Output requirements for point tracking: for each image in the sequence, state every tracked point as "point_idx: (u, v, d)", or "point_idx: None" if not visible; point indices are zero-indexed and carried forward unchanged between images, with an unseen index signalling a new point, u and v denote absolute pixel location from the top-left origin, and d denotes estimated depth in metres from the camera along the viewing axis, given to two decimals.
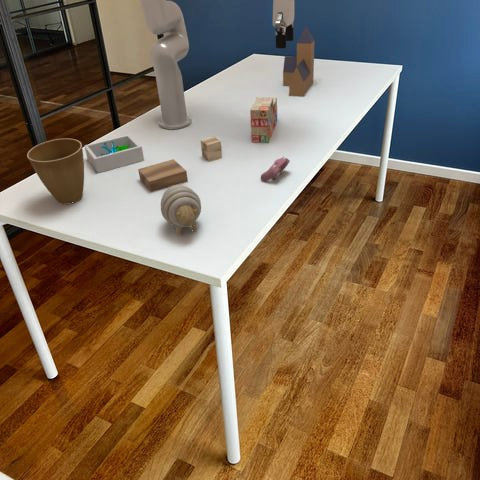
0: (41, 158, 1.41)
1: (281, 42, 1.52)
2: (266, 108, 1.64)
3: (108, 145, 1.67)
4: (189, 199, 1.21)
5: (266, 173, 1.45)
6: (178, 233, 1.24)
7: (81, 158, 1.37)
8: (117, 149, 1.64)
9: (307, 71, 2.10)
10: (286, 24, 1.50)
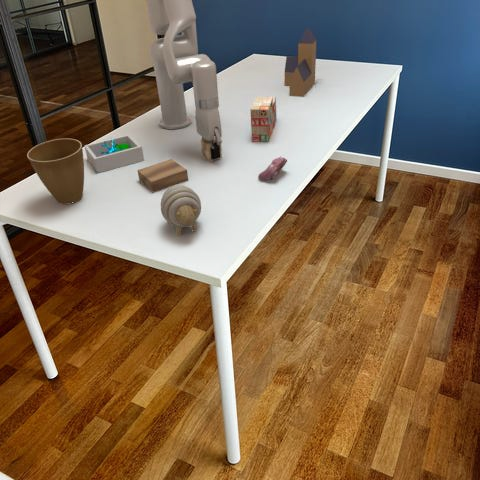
0: (41, 158, 1.41)
1: (217, 153, 1.59)
2: (266, 107, 1.65)
3: (108, 145, 1.67)
4: (189, 199, 1.21)
5: (264, 173, 1.45)
6: (178, 233, 1.24)
7: (81, 158, 1.37)
8: (117, 147, 1.66)
9: (308, 71, 2.10)
10: None
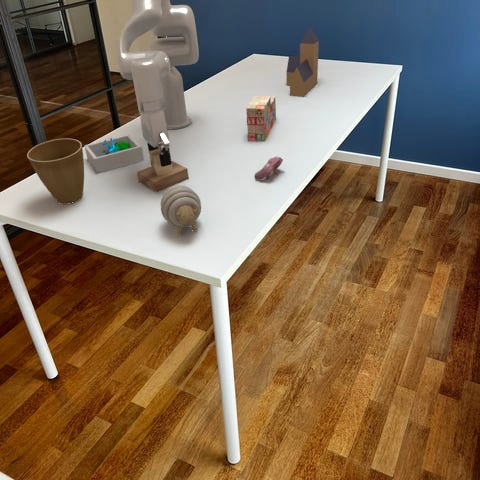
0: (41, 158, 1.41)
1: (168, 160, 1.42)
2: (262, 107, 1.65)
3: None
4: (189, 199, 1.21)
5: (260, 172, 1.45)
6: (178, 233, 1.24)
7: (81, 158, 1.37)
8: (117, 145, 1.67)
9: (309, 71, 2.10)
10: (168, 141, 1.40)
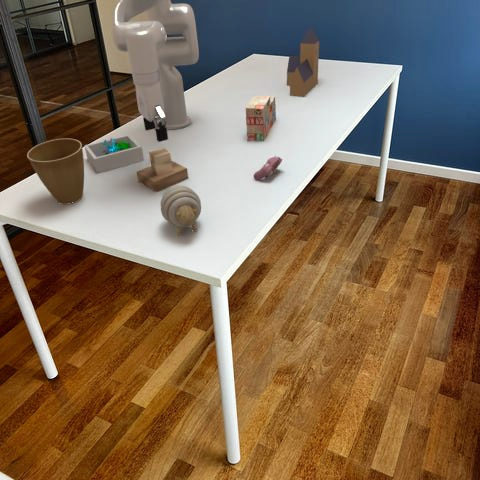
0: (41, 158, 1.41)
1: (164, 135, 1.38)
2: (261, 106, 1.66)
3: None
4: (189, 199, 1.21)
5: (259, 172, 1.45)
6: (178, 233, 1.24)
7: (81, 158, 1.37)
8: (117, 145, 1.67)
9: (310, 71, 2.10)
10: (164, 115, 1.36)
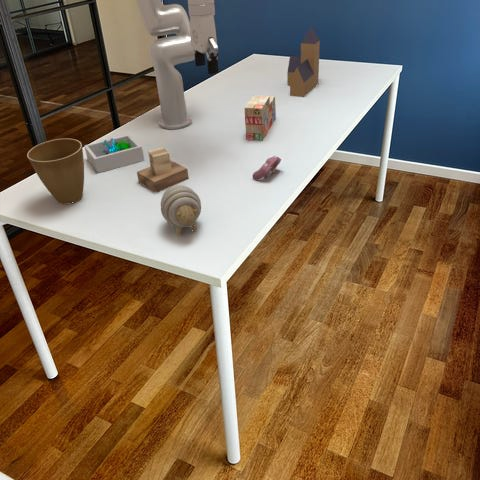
0: (41, 158, 1.41)
1: (215, 67, 1.45)
2: (260, 106, 1.66)
3: None
4: (189, 199, 1.21)
5: (258, 172, 1.45)
6: (178, 233, 1.24)
7: (81, 158, 1.37)
8: (117, 145, 1.67)
9: (310, 71, 2.10)
10: None
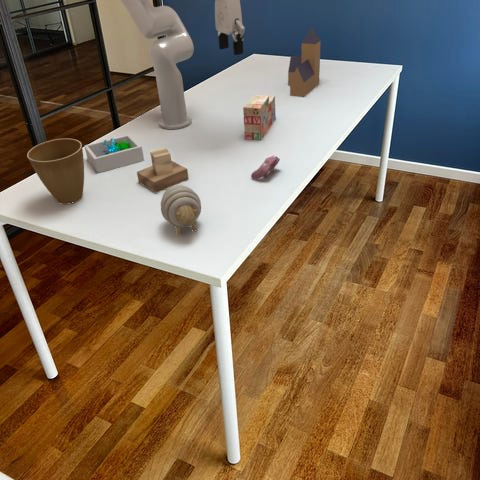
0: (41, 158, 1.41)
1: (240, 48, 1.51)
2: (259, 106, 1.66)
3: None
4: (189, 199, 1.21)
5: (256, 171, 1.46)
6: (178, 233, 1.24)
7: (81, 158, 1.37)
8: (117, 145, 1.67)
9: (310, 71, 2.09)
10: None
